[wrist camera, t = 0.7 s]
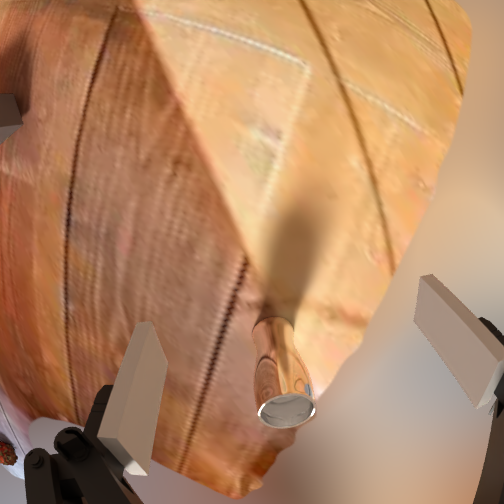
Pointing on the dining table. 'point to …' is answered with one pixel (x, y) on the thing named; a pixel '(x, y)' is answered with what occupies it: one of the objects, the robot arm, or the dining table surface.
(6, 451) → the dragon fruit
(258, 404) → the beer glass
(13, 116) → the plug
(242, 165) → the dining table surface
